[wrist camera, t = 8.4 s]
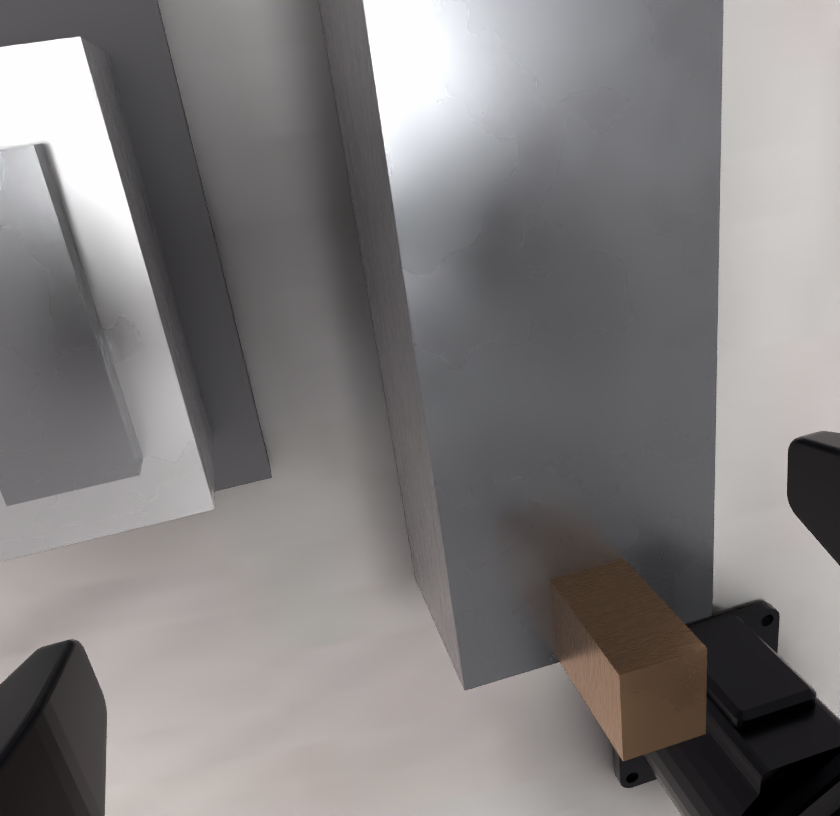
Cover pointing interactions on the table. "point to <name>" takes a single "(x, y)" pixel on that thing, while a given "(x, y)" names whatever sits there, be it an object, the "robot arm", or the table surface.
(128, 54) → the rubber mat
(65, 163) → the grey rectangular block
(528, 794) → the table surface
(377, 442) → the table surface
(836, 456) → the robot arm
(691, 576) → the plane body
